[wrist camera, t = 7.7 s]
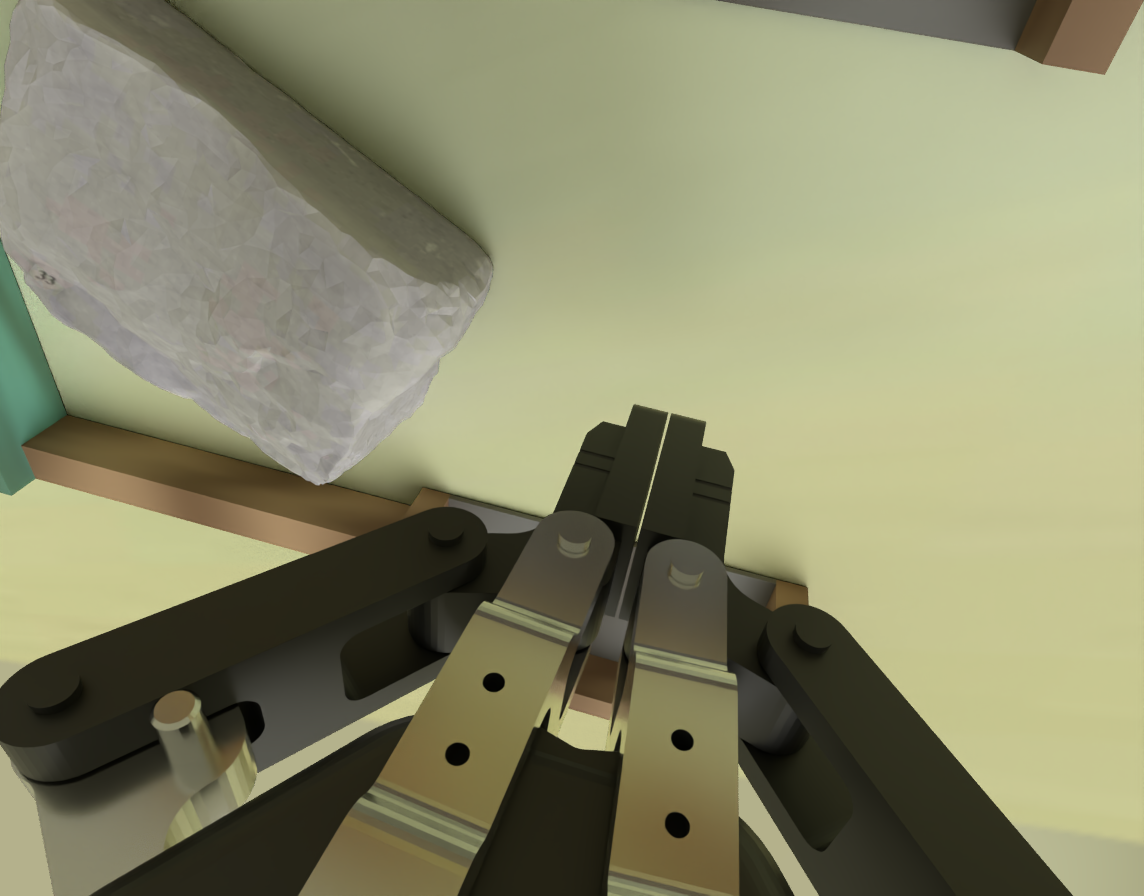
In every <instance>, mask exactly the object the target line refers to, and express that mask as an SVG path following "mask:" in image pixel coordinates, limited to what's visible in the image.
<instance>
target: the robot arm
mask: <svg viewBox="0 0 1144 896" xmlns="http://www.w3.org/2000/svg"><path fill="white" fill-rule="evenodd" d="M667 416H668V412H664V411H660V410H656V409H652V408H648V407H644V406H640V405H636V404H634V405H633V408H632V411H631V414H630V416H629V419H628V422H627V425H626V427H623V426H619V425H615V424H611V423H607V422H602V423H600V424H599V425H597V426H596V427H595V428H593V429H592V430H591V431H589V432H588V433H587V435H586V437H585V439H584V442H583V444H582V446H581V449H580V452H579V453H578V456H577V458H576V461H575V464H574V465H573V468H572V470H571V472H570V475H569V477H568V479H567V482H566V484H565V487H564V489H563V491H562V494H561V496H560V498H559V501H558V503H557V505H556V508H555V510H554V512H553V514H550V515H548V516H547V517H545V518H544V519H542V520H541V521H540V522H539V524H538V525H537V527H536V528H535V529H533V530H530V531H526V532H521V533H487V529H486V526H485V524H484V523H483V522H482V520H481V519H480V518H479V517H478V516H476V515H475V514H473V513H471V512H469V511H467V510H464V509H461V508H456V507H437V508H432V509H429V510H425V511H423V512H420V513H418V514H415V515H412V516H410V517H407V518H404V519H402V520H399V521H397V522H394V523H391V524H389V525H386V526H384V527H381V528H378V529H376V530H373V531H370V532H368V533H365V534H363V535H360V536H357V537H355V538H352V539H349V540H347V541H344V542H342V543H339V544H336V545H334V546H331V547H329V548H326V549H323V550H321V551H318V552H315V553H313V554H310V555H308V556H305V557H302V558H300V559H297V560H295V561H292V562H289V563H287V564H284V565H281V566H279V567H276V568H274V569H271V570H268V571H266V572H263V573H260V574H258V575H255V576H253V577H250V578H247V579H245V580H242V581H240V582H237V583H234V584H232V585H229V586H226V587H224V588H221V589H219V590H216V591H213V592H211V593H208V594H205V595H203V596H200V597H198V598H195V599H192V600H190V601H187V602H185V603H182V604H179V605H177V606H174V607H171V608H169V609H166V610H164V611H161V612H158V613H156V614H153V615H150V616H148V617H145V618H143V619H140V620H137V621H135V622H132V623H130V624H127V625H124V626H122V627H119V628H116V629H114V630H111V631H109V632H106V633H103V634H101V635H98V636H96V637H93V638H90V639H88V640H85V641H82V642H80V643H77V644H75V645H72V646H69V647H67V648H64V649H61V650H59V651H56V652H54V653H51V654H48V655H46V656H44V657H41V658H39V659H37V660H35V661H33V662H31V663H30V664H28V665H26V666H25V667H23V668H22V669H20V670H19V671H18V672H16V673H15V674H14V675H13V676H11V677H10V678H9V679H8V680H7V681H6V683H4V685H2V687H1V688H0V745H1V747H2V748H3V749H4V751H5V752H6V754H7V755H8V756H9V757H10V760H11V765H12V767H13V770H14V772H15V773H16V775H17V776H18V777H19V778H20V780H21V782H22V783H23V784H24V786H25V787H26V788H27V790H28V791H29V793H30V794H31V795H32V797H33V798H34V800H35V801H36V804H37V810H38V815H39V820H40V825H41V831H42V836H43V841H44V847H45V851H46V857H47V863H48V867H49V873H50V878H51V884H52V889H53V894H54V896H794V894H793V892H792V890H791V889H790V887H789V885H788V883H787V881H786V879H785V878H784V876H783V874H782V872H781V871H780V869H779V867H778V865H777V864H776V862H775V860H774V858H773V857H772V855H771V854H770V852H769V851H768V850H767V848H766V847H765V845H764V844H763V842H762V841H761V840H760V838H759V837H758V836H757V835H756V834H755V833H754V832H753V830H752V829H751V828H750V827H749V826H748V825H747V824H746V823H745V822H744V821H743V820H742V819H741V818H740V817H739V812H738V810H739V808H738V807H739V806H738V764H739V765H740V767H741V769H742V770H743V772H744V774H745V775H746V777H747V778H748V780H749V782H750V783H751V785H752V787H753V788H754V790H755V791H756V793H757V795H758V796H759V798H760V800H761V801H762V803H763V805H764V806H765V808H766V809H767V811H768V813H769V814H770V816H771V818H772V819H773V821H774V823H775V824H776V826H777V827H778V829H779V831H780V832H781V834H782V836H783V837H784V839H785V841H786V842H787V844H788V845H789V847H790V849H791V850H792V852H793V854H794V855H795V857H796V858H797V860H798V862H799V863H800V865H801V867H802V868H803V870H804V872H805V873H806V874H807V877H808V878H809V880H810V881H811V883H812V885H813V886H814V888H815V890H816V891H817V893H818V894H819V896H1073V895H1072V894H1071V893H1070V892H1069V891H1068V889H1067V888H1066V887H1065V886H1064V885H1063V883H1062V882H1061V881H1060V880H1059V879H1058V878H1057V877H1056V875H1055V874H1054V873H1053V872H1052V871H1051V870H1050V868H1049V867H1048V866H1047V865H1046V863H1045V862H1044V861H1043V860H1042V859H1041V858H1040V856H1039V855H1038V854H1037V853H1036V852H1035V851H1034V849H1033V848H1032V847H1031V846H1030V845H1029V843H1028V842H1027V841H1026V840H1025V839H1024V838H1023V836H1022V835H1021V834H1020V833H1019V832H1018V831H1017V829H1016V828H1015V827H1014V826H1013V825H1012V824H1011V822H1010V821H1009V820H1008V819H1007V818H1006V816H1005V815H1004V814H1003V813H1002V812H1001V811H1000V809H999V808H998V807H997V806H996V805H995V804H994V802H993V801H992V800H991V799H990V798H989V797H988V795H987V794H986V793H985V792H984V791H983V789H982V788H981V787H980V786H979V785H978V784H977V782H976V781H975V780H974V779H973V778H972V777H971V775H970V774H969V773H968V772H967V771H966V769H965V768H964V767H963V766H962V765H961V764H960V762H959V761H958V760H957V759H956V758H955V757H954V755H953V754H952V753H951V752H950V751H949V750H948V748H947V747H946V746H945V745H944V744H943V742H942V741H941V740H940V739H939V738H938V737H937V735H936V734H935V733H934V732H933V731H932V730H931V728H930V727H929V726H928V725H927V724H926V723H925V721H924V720H923V719H922V718H921V717H920V715H919V714H918V713H917V712H916V711H915V710H914V708H913V707H912V706H911V705H910V704H909V703H908V701H907V700H906V699H905V698H904V697H903V695H902V694H901V693H900V692H899V691H898V690H897V688H896V687H895V686H894V685H893V684H892V683H891V681H890V680H889V679H888V678H887V677H886V676H885V674H884V673H883V672H882V671H881V670H880V668H879V667H878V666H877V665H876V664H875V663H874V661H873V660H872V659H871V658H870V657H869V656H868V654H867V653H866V652H865V651H864V650H863V648H862V647H861V646H860V645H859V644H858V643H857V641H856V640H855V639H854V638H853V637H852V636H851V634H850V633H849V632H848V631H847V630H846V629H845V627H844V626H843V625H842V624H841V623H840V622H839V621H837V620H836V619H835V618H834V617H832V616H831V615H829V614H828V613H826V612H824V611H822V610H820V609H818V608H815V607H812V606H808V605H804V604H788V605H784V606H781V607H779V608H777V609H776V610H774V611H771V610H769V609H768V608H766V607H764V606H762V605H760V604H759V603H757V602H755V601H753V600H752V599H750V598H749V597H747V596H746V595H745V594H743V593H742V592H741V591H740V590H739V589H738V588H737V587H736V586H735V585H734V584H733V582H732V581H731V580H730V578H729V576H728V575H727V572H726V569H725V565H724V553H725V545H726V536H727V528H728V520H729V511H730V503H731V494H732V486H733V478H734V469H733V466H732V464H731V462H730V460H729V458H728V456H727V454H726V452H723V451H719V450H715V449H711V448H707V447H703V446H702V442H703V437H704V431H705V426H706V422H705V421H701V420H697V419H693V418H689V417H685V416H681V415H677V414H673V413H671V417H670V421H669V424H668V428H667V432H666V436H665V439H664V443H663V447H662V451H661V455H660V458H659V462H658V466H657V470H656V474H655V477H654V481H653V485H652V489H651V492H650V496H649V500H648V504H647V508H646V511H645V515H644V519H643V523H642V526H641V530H640V534H639V538H638V542H637V546H636V550H635V554H634V558H633V562H632V566H631V570H630V574H629V578H628V582H627V586H626V590H625V594H624V598H623V601H622V605H621V609H620V613H619V617H618V618H619V619H622V620H626V621H629V622H628V626H627V630H626V634H625V638H624V642H623V646H622V649H621V653H620V657H619V662H618V668H617V675H616V682H615V688H614V695H613V701H612V708H611V714H610V721H609V727H608V734H607V740H606V747H605V751H598V750H583V749H578V748H575V747H573V746H571V745H569V744H568V743H566V742H564V741H563V740H561V739H559V738H558V737H557V736H558V734H559V731H560V728H561V726H562V723H563V720H564V718H565V715H566V713H567V710H568V708H569V705H570V703H571V700H572V697H573V695H574V692H575V690H576V687H577V685H578V682H579V680H580V677H581V674H582V672H583V669H584V667H585V664H586V662H587V659H588V657H589V654H590V651H591V648H592V644H593V641H594V640H595V639H596V637H597V635H598V633H599V630H600V626H601V623H602V619H603V616H604V615H607V616H611V617H614V618H615V614H616V611H617V607H618V603H619V599H620V596H621V592H622V588H623V585H624V581H625V577H626V573H627V570H628V566H629V562H630V559H631V555H632V551H633V547H634V544H635V540H636V536H637V532H638V529H639V525H640V521H641V518H642V514H643V510H644V506H645V503H646V499H647V495H648V491H649V487H650V484H651V480H652V476H653V472H654V468H655V464H656V460H657V456H658V452H659V448H660V444H661V440H662V436H663V432H664V428H665V424H666V420H667ZM434 679H435V681H434V683H433V685H432V686H431V688H430V690H429V691H428V693H427V695H426V696H425V698H424V700H423V702H422V703H421V705H420V707H419V708H418V710H417V712H416V714H415V715H412V716H407V717H404V718H400V719H397V720H394V721H391V722H389V723H386V724H384V725H382V726H379V727H377V728H375V729H373V730H371V731H369V732H368V733H366V734H364V735H362V736H361V737H359V738H357V739H355V740H354V741H352V742H350V743H349V744H347V745H345V746H343V747H342V748H340V749H338V750H337V751H335V752H333V753H332V754H330V755H328V756H326V757H325V758H323V759H321V760H319V761H318V762H316V763H314V764H313V765H311V766H309V767H308V768H306V769H304V770H302V771H301V772H299V773H297V774H295V775H294V776H292V777H290V778H289V779H287V780H285V781H284V782H282V783H280V784H278V785H277V786H275V787H273V788H271V789H270V790H268V791H266V792H265V793H263V794H261V795H259V796H258V797H256V798H254V799H253V800H251V801H249V802H247V803H246V804H244V802H245V801H246V800H247V798H248V797H249V795H250V793H251V791H252V789H253V787H254V784H255V781H256V777H257V773H259V772H260V771H262V770H264V769H266V768H268V767H270V766H272V765H274V764H275V763H277V762H279V761H281V760H283V759H285V758H287V757H289V756H291V755H293V754H295V753H296V752H298V751H300V750H302V749H304V748H306V747H308V746H310V745H312V744H313V743H315V742H317V741H319V740H321V739H323V738H325V737H326V736H329V735H330V734H332V733H334V732H336V731H338V730H340V729H342V728H344V727H346V726H347V725H349V724H351V723H353V722H355V721H357V720H359V719H361V718H363V717H365V716H366V715H368V714H370V713H372V712H374V711H376V710H378V709H380V708H382V707H383V706H385V705H387V704H389V703H391V702H393V701H395V700H397V699H399V698H400V697H402V696H404V695H406V694H408V693H410V692H412V691H414V690H416V689H417V688H419V687H421V686H423V685H425V684H427V683H429V682H431V681H433V680H434ZM243 804H244V805H243Z"/></svg>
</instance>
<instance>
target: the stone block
mask: <svg viewBox="0 0 1144 896" xmlns="http://www.w3.org/2000/svg"><path fill="white" fill-rule="evenodd" d="M4 67H5V91H4V96H3V100H2V105H1V113H0V234H1V240H2V243H3V247H4V250H5V252H6V253H7V254H8V255H9V256H10V257H11V258H12V259H13V260H14V262H15V263H16V264H17V265H18V266H19V267H20V268H21V269H22V270H23V272H24V280H25V283H26V284H27V285H28V286H29V287H30V288H31V289H32V290H33V292H34V293H35V294H36V295H37V296H38V297H39V299H40V300H41V301H42V303H43V304H44V305H45V307H46V308H47V309H48V311H49V312H50V313H51V315H52V316H53V317H55V318H56V319H58V320H59V321H60V322H62V323H63V324H64V325H66V326H68V327H70V328H72V329H75V330H77V331H79V332H81V333H83V334H85V335H87V336H88V337H89V338H91V339H92V340H93V341H95V342H96V343H97V344H99V345H100V346H101V347H103V349H104V350H105V351H106V352H107V353H108V354H109V355H110V356H111V357H112V358H113V359H115V360H116V361H117V362H119V363H120V364H122V365H123V366H125V367H126V368H128V369H129V370H131V371H132V372H134V373H135V374H136V375H138V376H139V377H141V378H142V379H144V380H146V381H148V382H150V383H151V384H153V385H155V386H157V387H159V388H161V389H163V390H165V391H168V392H170V393H173V394H175V395H178V396H180V397H183V398H188V399H193V400H194V401H195V402H196V403H197V404H198V405H199V406H200V407H201V408H203V409H204V410H206V411H207V412H208V413H209V414H210V415H211V416H212V417H213V418H215V419H216V420H218V421H219V422H221V423H223V424H224V425H226V426H228V427H229V428H231V429H232V430H234V431H236V432H237V433H239V434H240V435H243V436H246V437H249V438H250V439H251V440H252V441H253V442H254V443H255V444H256V445H257V446H258V447H259V448H260V449H261V450H262V452H264V453H265V454H267V455H268V456H269V457H271V458H272V459H274V460H275V461H276V462H278V463H279V464H281V465H282V466H284V467H285V468H287V469H289V470H290V471H292V472H294V473H295V474H297V475H299V476H301V477H302V478H304V479H305V480H306V481H311V482H312V483H314V484H315V485H320V484H322V485H323V484H324V483H328V482H332V481H334V480H335V479H337V478H338V477H339V476H341V475H342V474H343V473H344V472H345V471H347V470H349V469H351V468H352V466H354V465H356V464H357V463H358V462H360V461H361V460H362V459H363V458H364V457H365V456H367V455H368V454H369V453H370V452H371V451H372V450H374V449H375V448H376V446H377V445H378V444H379V443H380V442H381V441H382V440H384V439H385V438H386V437H388V436H389V435H390V434H391V433H392V431H393V430H394V429H395V428H396V426H397V425H398V424H400V423H401V422H402V421H404V420H406V419H408V418H410V417H411V416H412V415H413V413H414V412H415V410H416V409H417V408H418V407H420V406H421V405H422V404H423V402H424V398H425V395H426V393H427V391H428V388H429V385H430V383H431V381H432V379H433V377H434V376H435V375H436V374H437V373H438V369H439V361H440V358H441V357H443V356H445V355H446V354H447V353H449V352H450V351H452V350H453V349H455V347H456V346H457V344H458V342H459V341H460V339H461V338H462V337H463V335H464V334H465V332H466V330H467V329H468V327H469V325H470V323H471V321H472V319H473V318H474V315H475V313H476V312H477V311H478V310H479V308H480V307H481V306H482V305H483V303H484V300H485V298H486V295H487V293H488V291H489V288H490V282H491V279H492V277H493V265H492V262H491V260H490V258H489V257H488V256H487V255H486V254H485V253H484V251H483V250H482V249H481V247H480V246H479V245H478V244H477V243H476V242H475V241H474V240H473V239H471V238H470V237H469V236H468V235H467V234H466V233H464V232H463V231H462V230H460V229H459V228H458V227H456V226H455V225H454V224H453V223H451V222H450V221H449V220H447V219H446V218H445V217H443V216H442V215H441V214H440V213H438V212H437V211H436V210H435V209H433V208H432V207H431V206H430V205H428V204H427V203H425V202H424V201H423V200H422V199H420V198H419V197H418V196H417V195H415V194H414V193H413V192H411V191H410V190H408V189H407V188H406V187H404V186H403V185H402V184H401V183H399V182H398V181H397V180H395V179H394V178H393V177H392V176H390V175H389V174H388V173H386V172H385V171H384V170H383V169H381V168H380V167H379V166H377V165H376V164H375V163H374V162H372V161H371V160H370V159H369V158H367V157H366V156H365V155H363V154H362V153H360V152H359V151H358V150H356V149H355V148H354V147H353V146H351V145H350V144H349V143H347V142H346V141H345V140H344V139H342V138H341V137H340V136H339V135H338V134H336V133H335V132H334V131H332V130H331V129H330V128H328V127H327V126H326V125H324V124H323V123H322V122H320V121H319V120H318V119H316V118H315V117H314V116H312V115H311V114H310V113H309V112H307V111H306V110H305V109H304V108H303V107H302V106H301V105H299V104H298V103H297V102H296V101H294V100H293V99H292V98H290V97H289V96H288V95H286V94H285V93H283V92H282V91H281V90H279V89H278V88H276V87H275V86H274V85H272V84H271V83H269V82H268V81H267V80H265V79H264V78H262V77H261V76H260V75H258V74H257V73H255V72H253V71H252V70H251V69H250V68H249V67H248V66H247V65H246V64H245V63H244V62H243V61H242V60H241V59H240V58H239V57H238V56H236V55H235V54H234V53H232V52H231V51H230V50H229V49H227V48H226V47H225V46H223V45H222V44H221V43H219V42H218V41H217V40H215V39H214V38H213V37H211V36H210V35H209V34H207V33H206V32H205V31H204V30H202V29H201V28H200V27H199V26H197V25H196V24H195V23H194V22H193V21H192V20H191V19H190V18H189V17H187V16H186V15H184V14H183V13H181V12H179V11H178V10H176V9H175V8H174V7H172V6H171V5H170V4H169V3H167V2H166V1H165V0H19V1H18V3H17V5H16V7H15V8H14V10H13V14H12V18H11V22H10V45H9V49H8V53H7V57H6V61H5V65H4Z"/></svg>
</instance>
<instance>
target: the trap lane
mask: <svg viewBox="0 0 1144 896" xmlns="http://www.w3.org/2000/svg"><path fill="white" fill-rule="evenodd" d="M718 1H724V2H730V3H735V4H741V5H747V6H753V7H759V8H765V9H771V10H777V11H783V12H789V13H795V14H801V15H807V16H813V17H818V18H824V19H830V20H836V21H842V22H848V23H854V24H860V25H866V26H872V27H878V28H884V29H890V30H895V31H901V32H907V33H913V34H919V35H925V36H931V37H937V38H943V39H949V40H955V41H961V42H967V43H972V44H978V45H984V46H990V47H996V48H1002V49H1008V50H1014V51H1016V52H1018V53H1020V54H1022V55H1025V56H1027V57H1029V58H1031V59H1033V60H1035V61H1037V62H1039V63H1041V64H1045V65H1051V66H1057V67H1062V68H1068V69H1074V70H1080V71H1086V72H1092V73H1098V74H1104V75H1105V73H1106V71H1107V69H1108V67H1109V66H1110V64H1111V62H1112V60H1113V58H1114V56H1115V54H1116V52H1117V50H1118V48H1119V46H1120V45H1121V43H1122V41H1123V39H1124V37H1125V35H1126V33H1127V31H1128V29H1129V27H1130V26H1131V24H1132V22H1133V20H1134V18H1135V16H1136V14H1137V12H1138V10H1139V8H1140V6H1141V5H1142V3H1143V1H1144V0H718ZM35 478H36V479H40V480H43V481H47V482H50V483H54V484H58V485H61V486H65V487H69V488H72V489H76V490H79V491H83V492H87V493H90V494H94V495H97V496H101V497H105V498H108V499H112V500H115V501H119V502H123V503H126V504H130V505H133V506H137V507H141V508H144V509H148V510H151V511H155V512H159V513H162V514H166V515H169V516H173V517H177V518H180V519H184V520H187V521H191V522H195V523H198V524H202V525H205V526H209V527H213V528H216V529H220V530H223V531H227V532H231V533H234V534H238V535H241V536H245V537H249V538H252V539H256V540H259V541H263V542H267V543H270V544H274V545H277V546H281V547H285V548H288V549H292V550H295V551H299V552H303V553H306V554H313V553H315V552H318V551H321V550H323V549H326V548H329V547H331V546H334V545H336V544H339V543H342V542H344V541H347V540H349V539H352V538H355V537H357V536H360V535H363V534H365V533H368V532H370V531H373V530H376V529H378V528H381V527H384V526H386V525H389V524H391V523H394V522H397V521H399V520H402V519H404V518H407V517H410V516H412V515H415V514H418V513H420V512H423V511H425V510H429V509H432V508H437V507H456V508H461V509H464V510H467V511H469V512H471V513H473V514H475V515H476V516H478V517H479V518H480V519H481V520H482V522H483V523H484V524H485V526H486V529H487V533H521V532H526V531H530V530H533V529H535V528H536V527H537V525H538V524H539V522H540V521H541V520H542V518H539V517H535V516H531V515H527V514H523V513H519V512H516V511H512V510H508V509H504V508H500V507H496V506H493V505H489V504H485V503H481V502H477V501H473V500H470V499H466V498H462V497H458V496H454V495H450V494H447V493H443V492H439V491H435V490H431V489H427V488H424V487H423V488H422V489H421V491H420V493H419V494H418V496H417V497H416V499H415V500H414V502H413V503H412V505H411V506H410V505H406V504H402V503H398V502H395V501H391V500H387V499H383V498H379V497H376V496H372V495H368V494H364V493H361V492H357V491H353V490H349V489H345V488H342V487H338V486H334V485H330V484H327V483H324V484H323V485H322V484H320V485H315V484H314V483H312V482H311V481H306V480H305V479H304V478H302V477H300V476H296V475H293V474H289V473H285V472H281V471H277V470H274V469H270V468H266V467H262V466H258V465H255V464H251V463H247V462H243V461H240V460H236V459H232V458H228V457H224V456H221V455H217V454H213V453H209V452H206V451H202V450H198V449H194V448H190V447H187V446H183V445H179V444H175V443H172V442H168V441H164V440H160V439H156V438H153V437H149V436H145V435H141V434H137V433H134V432H130V431H126V430H122V429H119V428H115V427H111V426H107V425H103V424H100V423H96V422H92V421H88V420H85V419H81V418H77V417H73V416H69V415H67V414H66V411H65V408H64V406H63V403H62V401H61V398H60V395H59V393H58V390H57V387H56V385H55V382H54V380H53V377H52V374H51V372H50V369H49V366H48V364H47V361H46V359H45V356H44V353H43V351H42V348H41V345H40V343H39V340H38V337H37V335H36V332H35V330H34V327H33V324H32V322H31V319H30V316H29V314H28V311H27V309H26V306H25V303H24V301H23V298H22V295H21V293H20V290H19V288H18V285H17V282H16V280H15V277H14V274H13V272H12V269H11V267H10V264H9V261H8V259H7V256H6V253H5V251H4V248H3V246H2V243H1V240H0V492H1V493H4V494H8V495H11V496H12V495H13V494H15V493H16V492H17V491H19V490H20V489H22V488H23V487H24V486H26V485H27V484H28V483H30V482H31V481H33V480H34V479H35ZM636 546H637V543H635V544H634V547H633V551H632V555H631V559H630V562H629V566H628V570H627V573H626V577H625V581H624V585H623V588H622V592H621V596H620V599H619V603H618V607H617V611H616V614H615V618H614V617H611V616H607V615H604V616H603V619H602V623H601V626H600V630H599V633H598V635H597V637H596V639H595V640H594V641H593V644H592V648H591V651H590V654H589V657H588V659H587V662H586V664H585V667H584V669H583V672H582V674H581V677H580V680H579V682H578V685H577V687H576V690H575V692H574V695H573V697H572V700H571V703H570V705H569V709H573V710H576V711H580V712H583V713H586V714H590V715H593V716H597V717H600V718H604V719H607V720H610V714H611V708H612V701H613V695H614V688H615V682H616V675H617V668H618V662H619V657H620V653H621V649H622V646H623V642H624V638H625V634H626V630H627V626H628V622H629V621H626V620H622V619H619V618H618V617H619V613H620V609H621V605H622V601H623V598H624V594H625V590H626V586H627V582H628V578H629V574H630V570H631V566H632V562H633V558H634V554H635V550H636ZM725 569H726V572H727V575H728V576H729V578H730V580H731V581H732V582H733V584H734V585H735V586H736V587H737V588H738V589H739V590H740V591H741V592H742V593H743V594H745V595H746V596H747V597H749V598H750V599H752V600H753V601H755V602H757V603H759V604H760V605H762V606H764V607H766V608H768V609H769V610H771V611H774V610H776V609H777V608H779V607H781V606H784V605H788V604H804V605H808V588H807V587H803V586H799V585H796V584H792V583H788V582H784V581H780V580H776V579H773V578H769V577H765V576H761V575H757V574H753V573H750V572H746V571H742V570H738V569H734V568H730V567H727V566H725Z"/></svg>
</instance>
